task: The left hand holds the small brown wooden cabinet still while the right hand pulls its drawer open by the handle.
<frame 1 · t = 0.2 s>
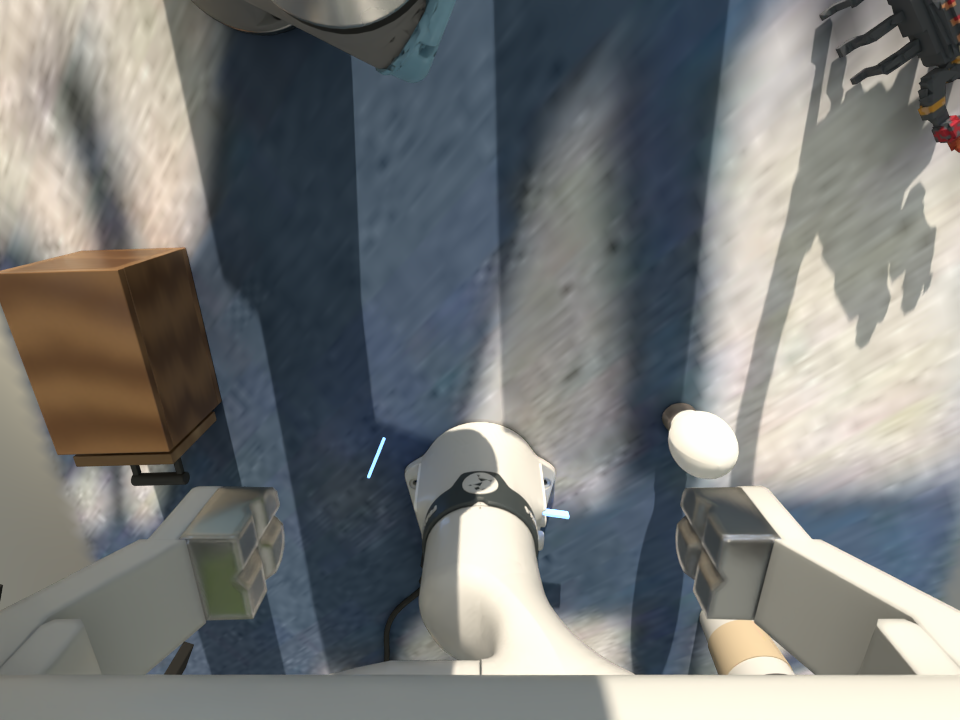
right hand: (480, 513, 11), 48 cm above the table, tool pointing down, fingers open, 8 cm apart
coffee cup: (723, 614, 75), on the table
drawer: (137, 393, 56), point 6 cm above the table, slide at 0.8 cm
light bulb: (679, 414, 63), on the table
cabinet: (155, 330, 59), on the table
toy: (904, 17, 48), on the table
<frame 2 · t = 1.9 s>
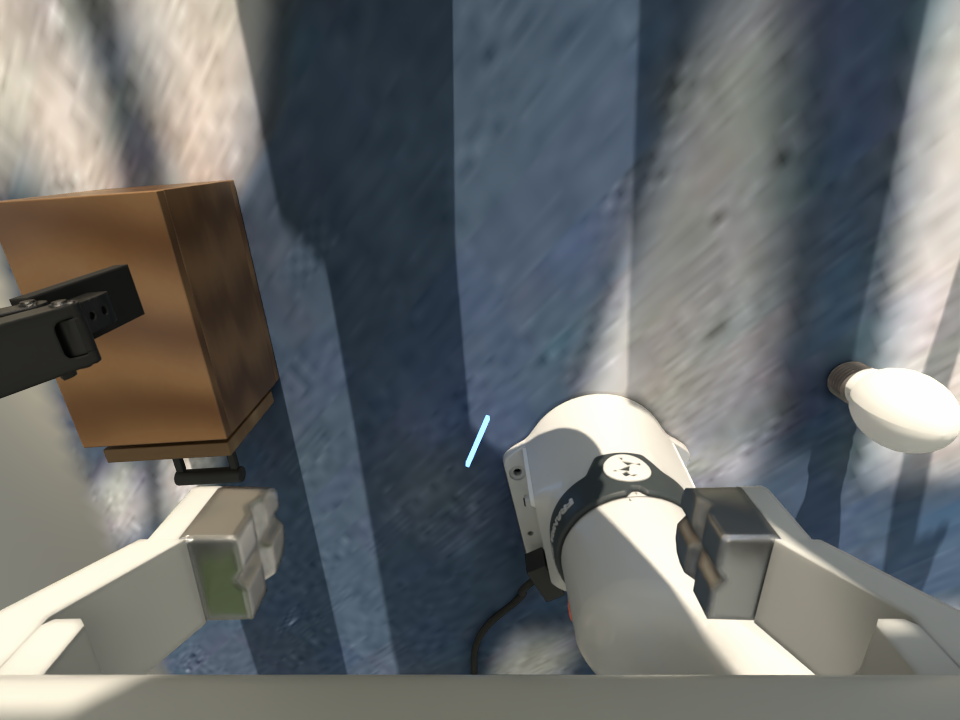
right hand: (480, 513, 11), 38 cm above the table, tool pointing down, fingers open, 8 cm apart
drawer: (180, 368, 44), point 6 cm above the table, slide at 0.8 cm
light bulb: (848, 376, 51), on the table
cabinet: (196, 290, 48), on the table
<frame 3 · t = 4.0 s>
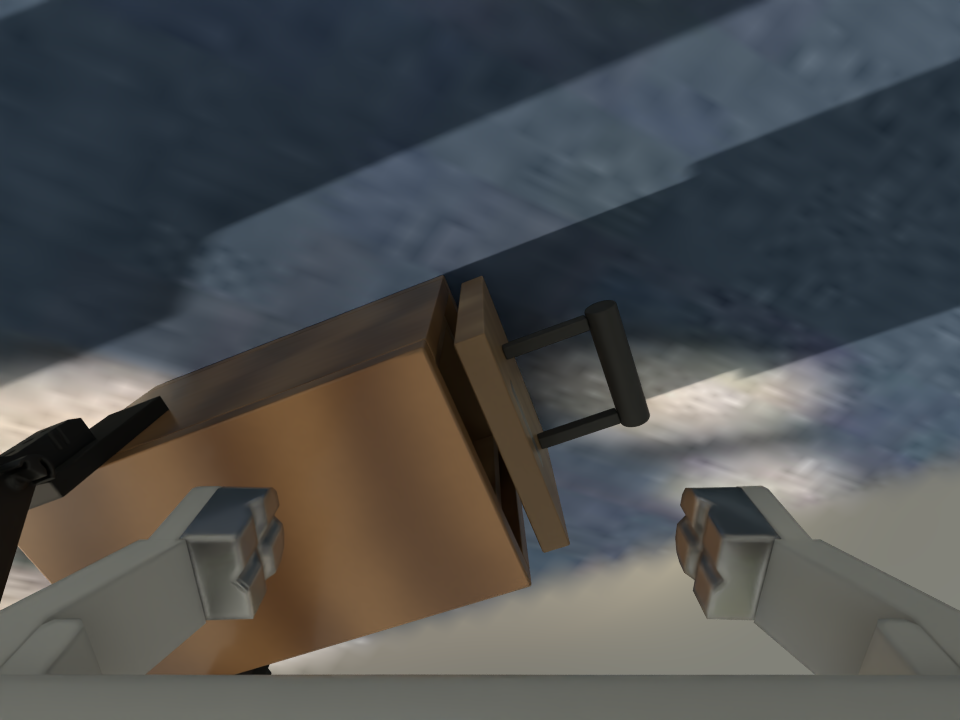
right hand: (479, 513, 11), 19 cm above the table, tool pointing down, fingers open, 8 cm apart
drawer: (407, 435, 25), point 6 cm above the table, slide at 0.8 cm
cabinet: (338, 415, 31), on the table, touching left hand
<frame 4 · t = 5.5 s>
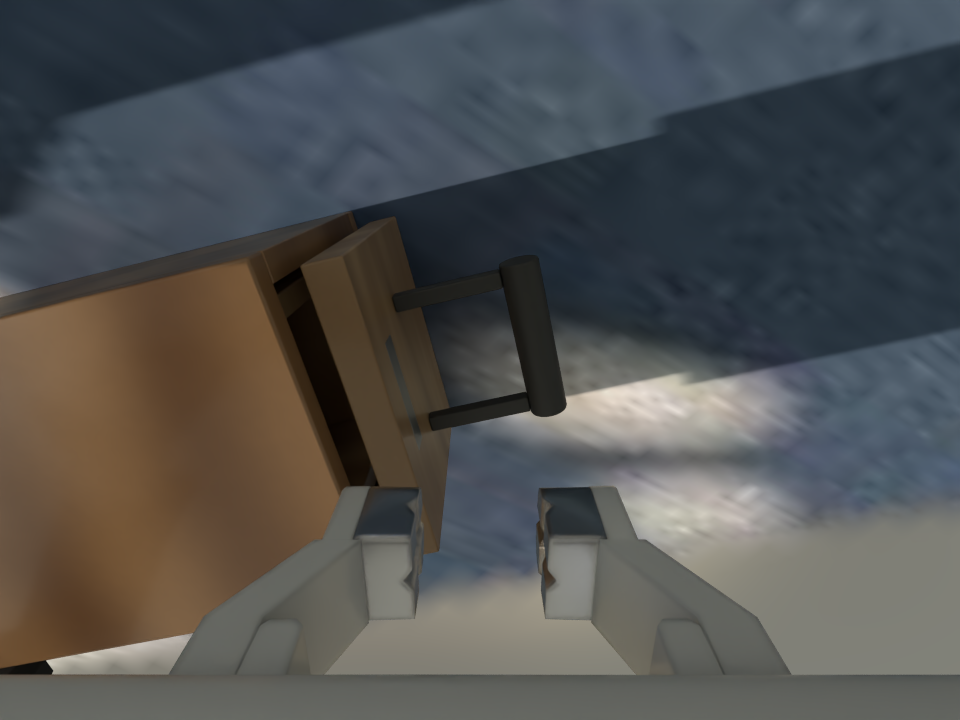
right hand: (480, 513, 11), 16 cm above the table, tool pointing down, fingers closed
drawer: (269, 393, 20), point 6 cm above the table, slide at 0.8 cm
cabinet: (213, 367, 26), on the table, touching left hand
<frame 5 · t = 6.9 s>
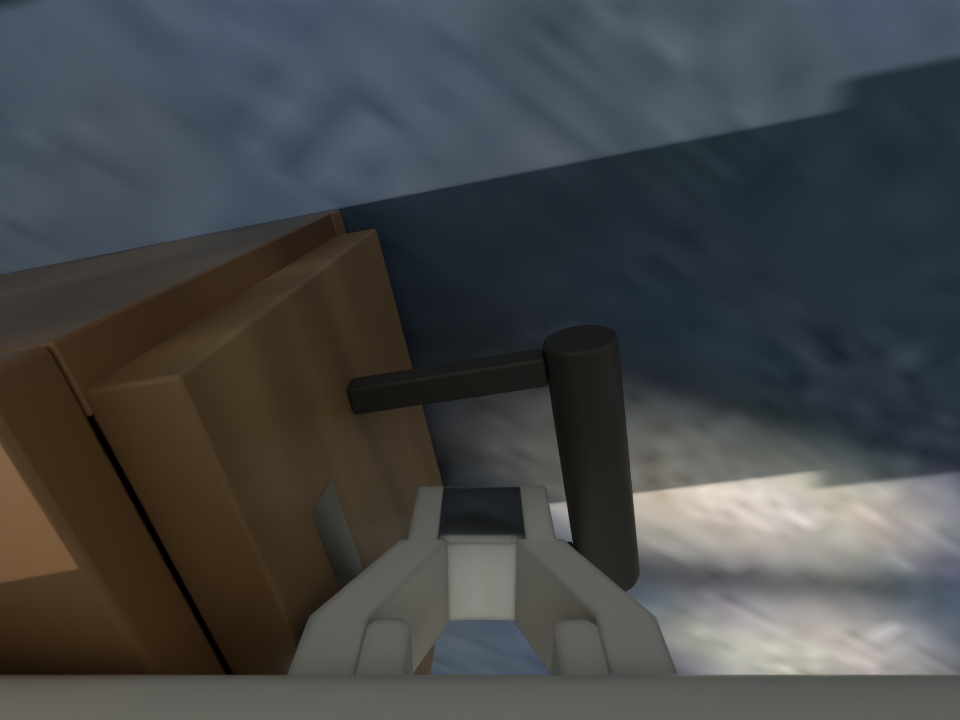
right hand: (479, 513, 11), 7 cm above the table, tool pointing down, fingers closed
drawer: (150, 516, 13), point 6 cm above the table, slide at -0.1 cm, touching right hand
cabinet: (136, 421, 18), on the table, touching left hand
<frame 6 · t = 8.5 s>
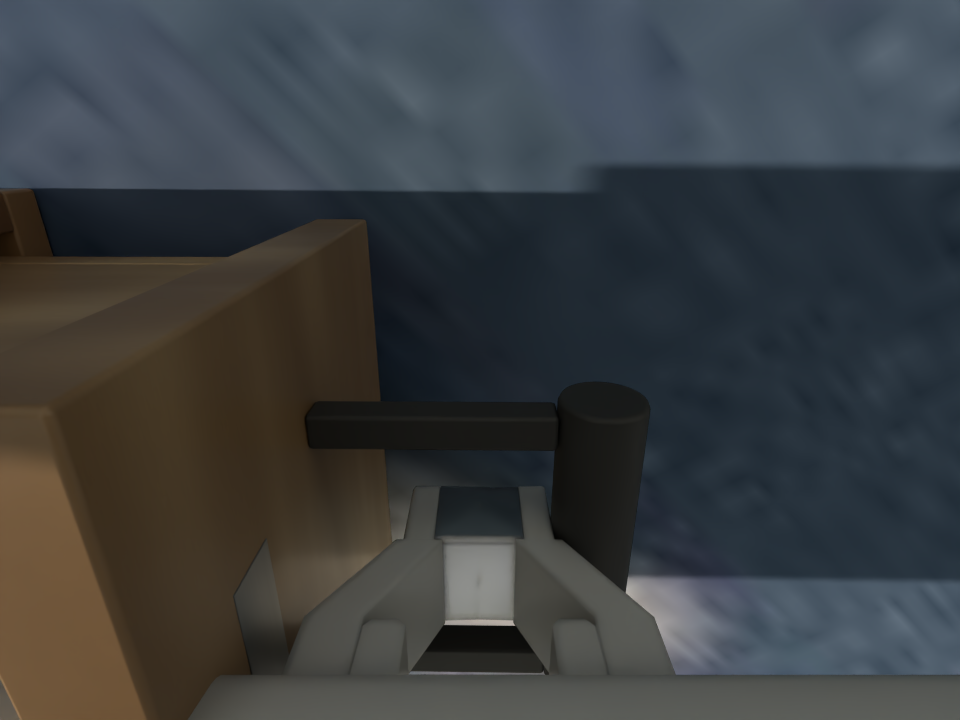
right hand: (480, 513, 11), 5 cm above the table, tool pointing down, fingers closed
drawer: (17, 530, 10), point 6 cm above the table, slide at 7.2 cm, touching right hand
when the left hand's fingers open (7 cm above the table, at t = 10.2 s): cabinet stays where it is, on the table.
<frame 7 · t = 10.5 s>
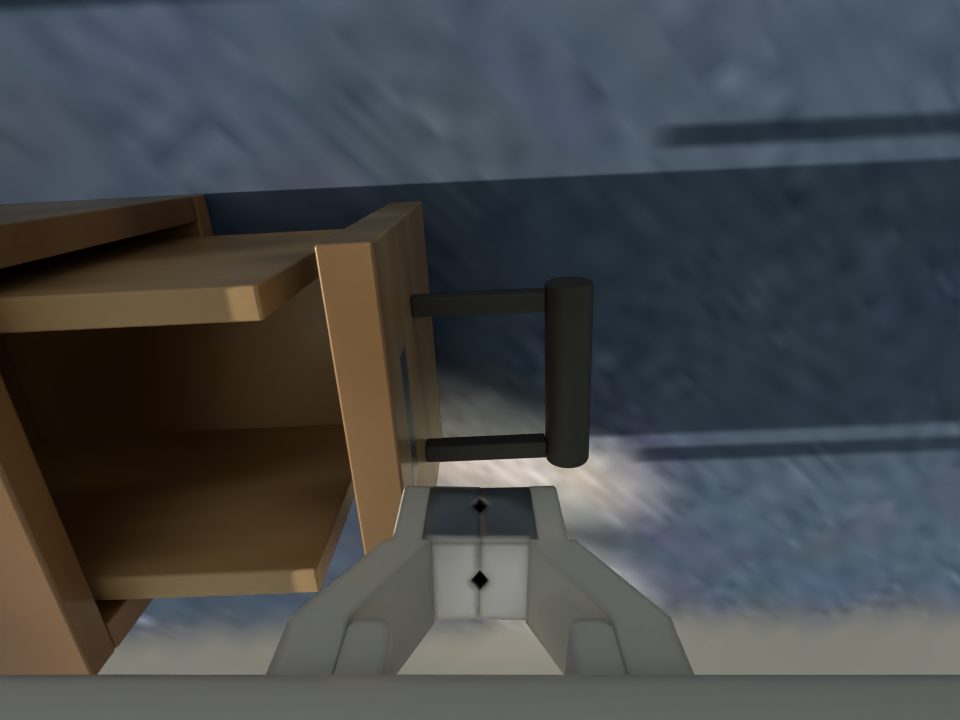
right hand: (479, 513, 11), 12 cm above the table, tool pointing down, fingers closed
drawer: (238, 386, 17), point 6 cm above the table, slide at 7.2 cm
cabinet: (24, 343, 22), on the table
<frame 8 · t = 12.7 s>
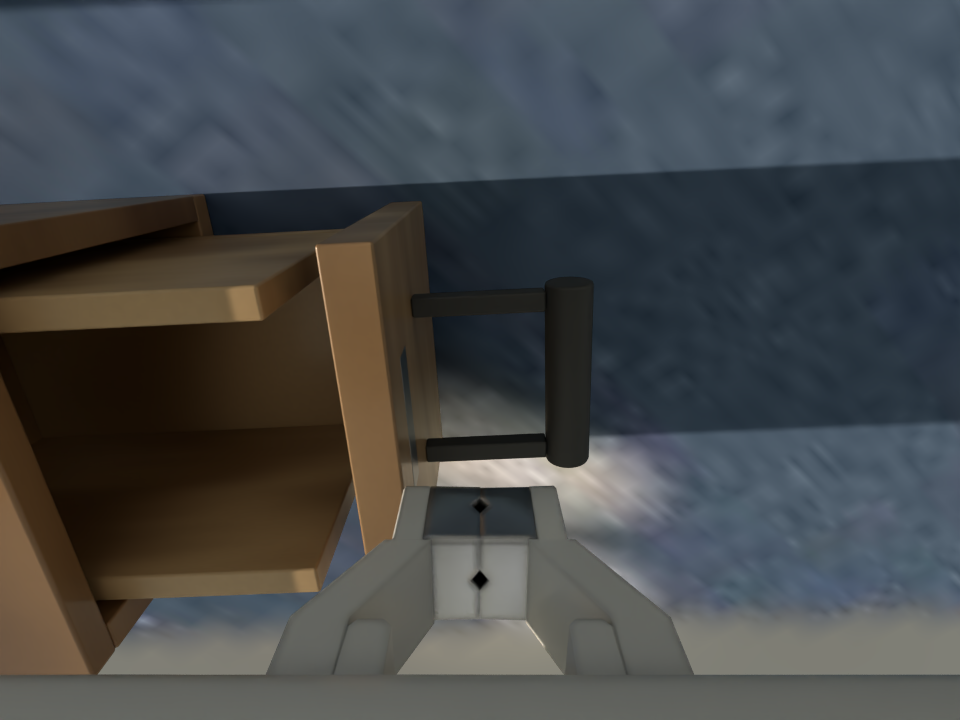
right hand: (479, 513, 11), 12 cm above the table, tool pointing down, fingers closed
drawer: (238, 386, 17), point 6 cm above the table, slide at 7.2 cm
cabinet: (24, 343, 22), on the table
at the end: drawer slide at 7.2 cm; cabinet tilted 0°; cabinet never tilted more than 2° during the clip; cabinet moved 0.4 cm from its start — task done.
